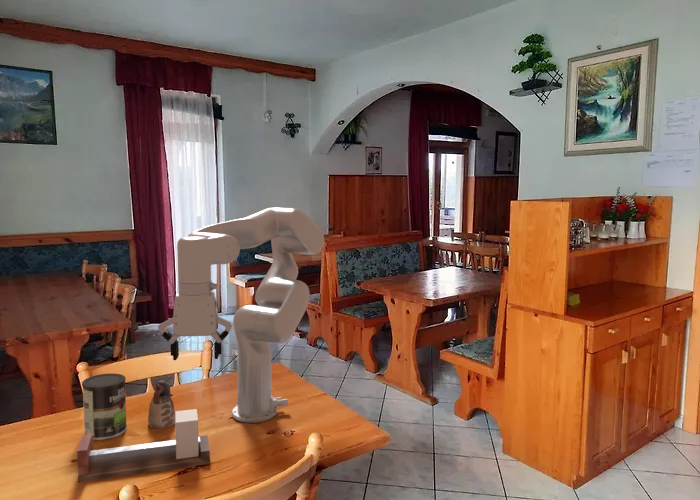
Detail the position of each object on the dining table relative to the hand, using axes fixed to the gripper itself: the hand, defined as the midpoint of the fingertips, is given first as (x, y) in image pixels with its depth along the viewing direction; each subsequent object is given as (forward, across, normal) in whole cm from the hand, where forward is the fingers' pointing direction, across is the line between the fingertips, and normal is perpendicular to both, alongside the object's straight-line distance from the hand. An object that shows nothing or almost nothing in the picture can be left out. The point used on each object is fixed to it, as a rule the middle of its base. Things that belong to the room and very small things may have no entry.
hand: (196, 357), depth 128 cm
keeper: (+22, +2, +4) cm, 22 cm away
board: (+23, +11, +6) cm, 26 cm away
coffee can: (+24, +26, -12) cm, 37 cm away
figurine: (+24, +12, -16) cm, 31 cm away
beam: (+22, +11, +6) cm, 25 cm away
